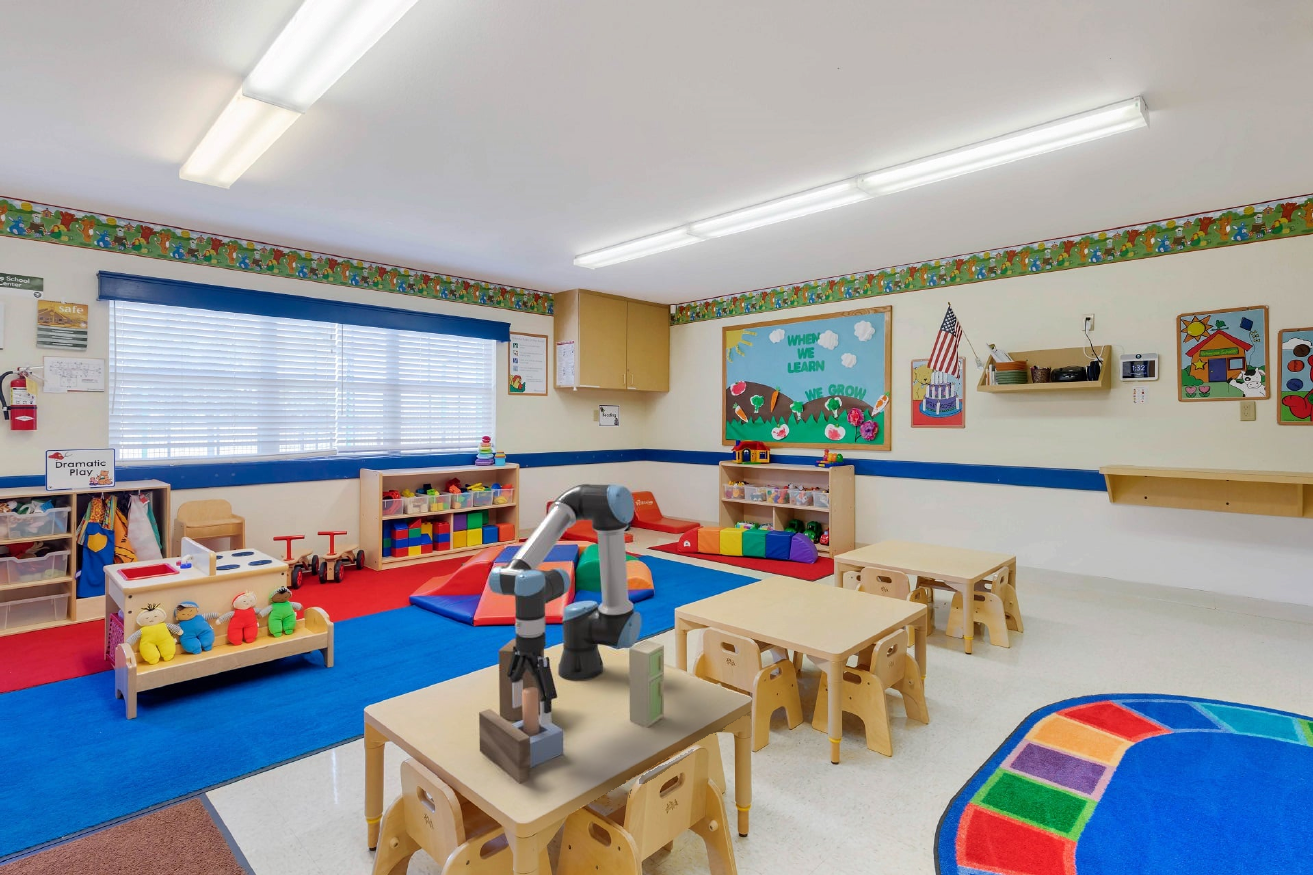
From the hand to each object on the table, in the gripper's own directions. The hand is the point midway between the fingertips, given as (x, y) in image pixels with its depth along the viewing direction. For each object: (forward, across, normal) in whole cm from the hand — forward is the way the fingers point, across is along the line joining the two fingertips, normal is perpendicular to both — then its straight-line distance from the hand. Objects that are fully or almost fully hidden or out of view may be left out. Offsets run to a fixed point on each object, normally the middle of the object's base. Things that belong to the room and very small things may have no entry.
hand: (531, 715), depth 161 cm
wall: (+10, 0, -8) cm, 13 cm away
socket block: (+10, 0, 0) cm, 10 cm away
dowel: (+8, 0, 0) cm, 8 cm away
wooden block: (+10, -21, +10) cm, 25 cm away
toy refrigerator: (+10, +7, +34) cm, 36 cm away
